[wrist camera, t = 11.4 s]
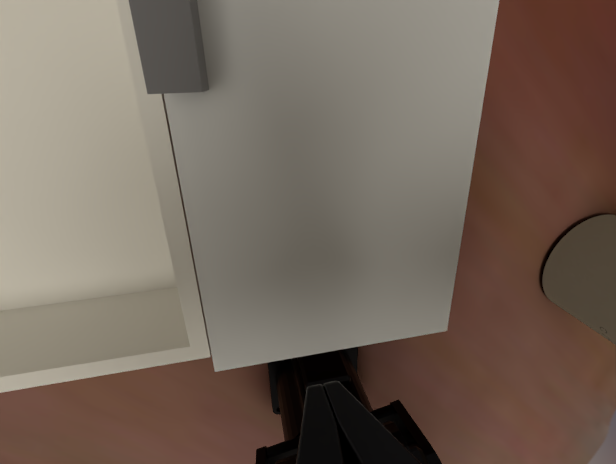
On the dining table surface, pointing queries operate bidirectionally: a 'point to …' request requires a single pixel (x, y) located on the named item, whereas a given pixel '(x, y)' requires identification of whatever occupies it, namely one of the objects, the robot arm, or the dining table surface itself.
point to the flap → (320, 162)
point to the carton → (88, 203)
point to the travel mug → (586, 274)
